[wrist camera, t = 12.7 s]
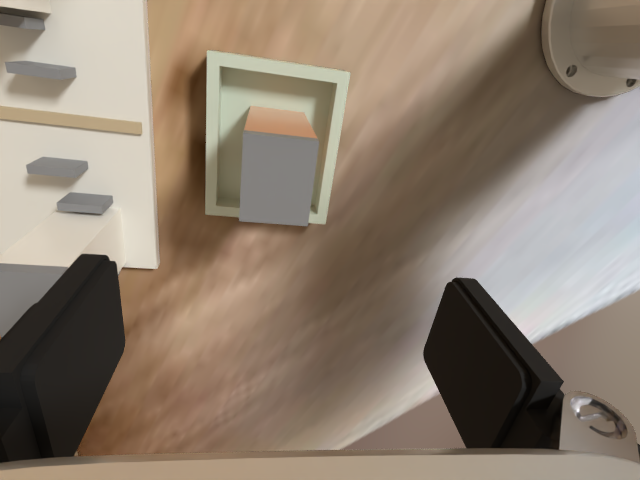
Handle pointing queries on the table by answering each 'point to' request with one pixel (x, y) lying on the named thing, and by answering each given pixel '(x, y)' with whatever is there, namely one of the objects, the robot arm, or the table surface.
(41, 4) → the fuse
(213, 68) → the tray
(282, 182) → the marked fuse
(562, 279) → the table surface
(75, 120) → the board
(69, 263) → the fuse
